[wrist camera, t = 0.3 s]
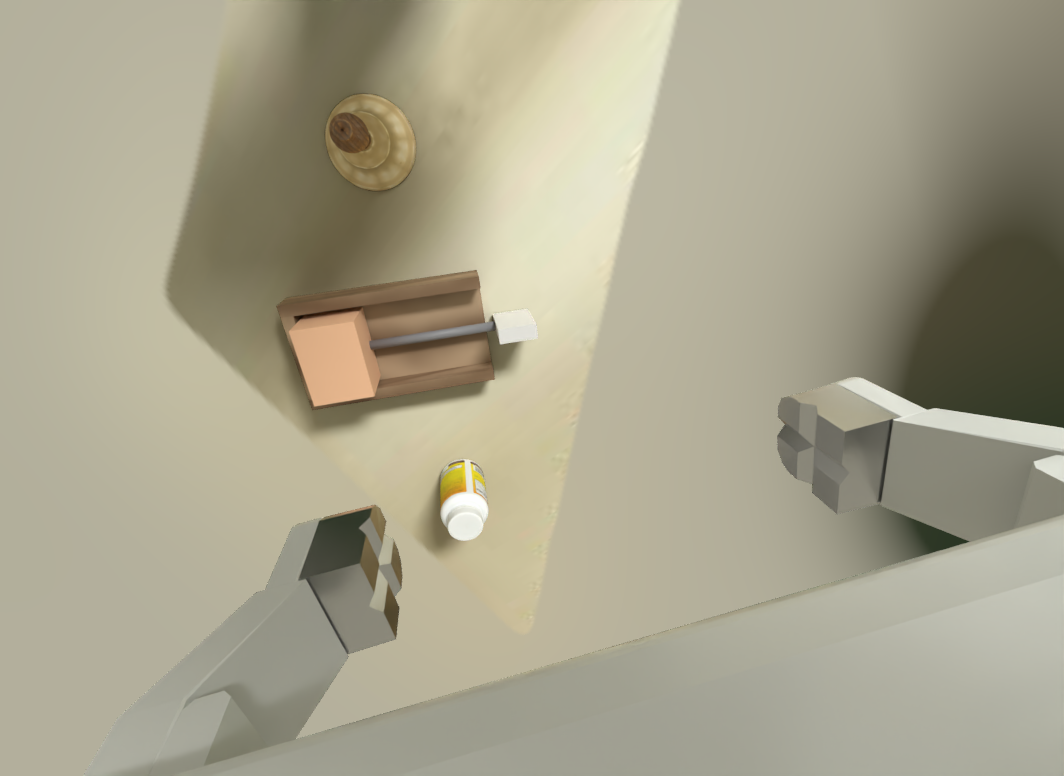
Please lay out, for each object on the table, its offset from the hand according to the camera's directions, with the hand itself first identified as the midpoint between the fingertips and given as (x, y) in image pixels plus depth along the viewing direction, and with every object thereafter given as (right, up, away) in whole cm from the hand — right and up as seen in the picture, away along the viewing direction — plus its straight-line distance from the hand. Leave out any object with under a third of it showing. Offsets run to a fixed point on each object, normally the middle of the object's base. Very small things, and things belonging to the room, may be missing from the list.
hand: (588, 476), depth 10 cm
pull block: (-13, +8, +45) cm, 47 cm away
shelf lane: (-16, +8, +45) cm, 48 cm away
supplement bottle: (-10, -9, +54) cm, 56 cm away
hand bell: (-16, +25, +37) cm, 48 cm away
